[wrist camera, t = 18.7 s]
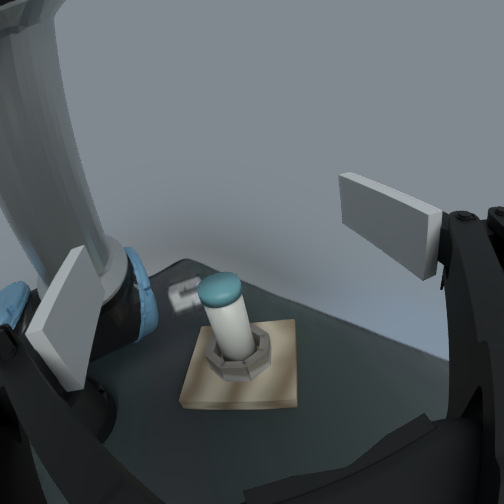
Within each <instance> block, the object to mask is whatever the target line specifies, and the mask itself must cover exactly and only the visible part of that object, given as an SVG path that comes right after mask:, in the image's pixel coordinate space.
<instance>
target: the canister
mask: <svg viewBox="0 0 504 504" xmlns="http://www.w3.org/2000/svg"><path fill="white" fill-rule="evenodd" d="M197 292H198V295H199V298H200V300H201V303H202V304H203V305H204V307H205V310H206V313H207V316H208V318H209V321H210V324H211V327H212V329H213V332H214V335H215V338H216V340H217V343H218V346H219V348H220V351H221V354H222V356H223V359H224V361H225V362H231V361H245V360H246V359H247V358H249V357H250V356H251V355H253V354H254V353H256V352H257V349H256V346H255V342H254V338H253V334H252V331H251V327H250V323H249V319H248V316H247V312H246V308H245V304H244V301H243V297H242V286H241V283H240V279H239V277H238V275H236V274H234V273H231V272H220V273H216V274H212V275H210V276H208V277H206V278H204V279H203V280H202V281H201V282H200V283H199V284H198V286H197Z"/></svg>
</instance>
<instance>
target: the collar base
mask: <svg viewBox="0 0 504 504" xmlns="http://www.w3.org/2000/svg"><path fill="white" fill-rule="evenodd" d="M250 327H251V331H252V334H253V338H254V342H255V346H256V349H257V352H256V353H254V354H253V355H251V356H250V357H249V358H247V359H246V360H245V361H231V362H225V361H224V359H223V356H222V354H221V351H220V348H219V346H218V343H217V340H216V338H215V335H214V332H213V329H212V327H211V326H202V327H201V330H200V333H199V337H198V340H197V343H196V346H195V349H194V352H193V356H192V359H191V362H190V365H189V369H188V372H187V375H186V378H185V382H184V385H183V388H182V392H181V395H180V398H179V402H180V404H181V405H182V407H183V408H184V409H209V410H251V409H277V408H293V407H297V346H296V324H295V319H290V320H280V321H269V322H258V323H250Z"/></svg>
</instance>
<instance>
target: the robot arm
mask: <svg viewBox="0 0 504 504" xmlns="http://www.w3.org/2000/svg"><path fill="white" fill-rule="evenodd" d="M64 2H65V0H0V207H1V209H2V211H3V213H4V215H5V217H6V219H7V221H8V223H9V225H10V227H11V228H12V230H13V232H14V234H15V236H16V237H17V239H18V241H19V243H20V244H21V246H22V248H23V249H24V251H25V253H26V254H27V256H28V258H29V259H30V261H31V263H32V264H33V266H34V268H35V269H36V271H37V272H38V274H39V275H38V280H37V289H34V290H32V291H30V288H29V286H28V285H26V283H25V282H22V281H18V282H17V283H16V282H15V283H12V284H10V285H8V286H7V287H5V288H4V289H2V290H1V291H0V504H47V502H46V499H45V496H44V493H43V490H42V487H41V484H40V481H39V478H38V474H37V471H36V468H35V464H34V460H33V456H32V453H31V448H30V444H29V440H30V442H31V444H32V446H33V448H34V449H35V451H36V453H37V455H38V456H39V458H40V460H41V461H42V463H43V465H44V466H45V468H46V470H47V471H48V473H49V475H50V476H51V478H52V479H53V481H54V482H55V484H56V485H57V487H58V488H59V490H60V491H61V493H62V494H63V495H64V497H65V498H66V500H67V501H68V502H69V504H165V503H164V502H163V501H162V500H161V499H159V498H158V497H157V496H156V495H155V494H153V493H152V492H151V491H150V490H149V489H148V488H146V487H145V486H144V485H143V484H142V483H141V482H140V481H139V480H137V479H136V478H135V477H134V476H133V475H132V474H131V473H130V472H129V471H128V470H127V469H126V468H125V467H124V466H123V465H122V464H121V463H120V462H119V461H118V460H117V459H116V458H115V457H114V456H113V455H112V454H111V453H110V452H109V451H108V450H107V449H106V448H105V447H104V446H103V445H102V443H103V442H104V441H105V439H106V438H107V437H108V435H109V434H110V432H111V430H112V428H113V425H114V422H115V417H116V408H115V403H114V401H113V399H112V397H111V396H110V394H109V393H108V392H107V390H106V389H105V388H104V387H103V386H102V385H101V384H100V383H99V382H97V381H96V380H94V379H93V378H91V377H90V376H88V375H87V374H86V373H87V368H88V363H90V362H93V361H95V360H97V359H99V358H101V357H103V356H105V355H108V354H110V353H112V352H114V351H116V350H118V349H121V348H123V347H125V346H127V345H129V344H132V343H136V342H138V341H140V339H141V338H143V337H144V336H146V335H148V334H150V333H152V332H153V331H154V330H155V329H156V327H157V325H158V320H159V316H158V309H157V304H156V300H155V297H154V294H153V292H152V290H151V286H150V282H149V279H148V276H147V273H146V271H145V268H144V266H143V264H142V262H141V260H140V258H139V256H138V254H137V253H136V251H135V250H134V249H133V248H131V247H123V246H122V245H121V244H120V243H119V242H118V241H117V240H116V239H114V238H112V237H110V236H108V235H105V234H104V231H103V228H102V226H101V223H100V220H99V217H98V215H97V212H96V209H95V206H94V203H93V200H92V196H91V193H90V190H89V187H88V184H87V181H86V177H85V174H84V171H83V167H82V164H81V160H80V157H79V153H78V149H77V145H76V142H75V138H74V134H73V130H72V125H71V121H70V117H69V113H68V108H67V103H66V99H65V93H64V88H63V83H62V78H61V71H60V65H59V59H58V52H57V45H56V36H55V27H54V17H55V14H56V12H57V11H58V10H59V8H60V7H61V6H62V4H63V3H64ZM338 176H339V186H340V197H341V209H342V223H343V224H345V225H346V226H347V227H349V228H350V229H352V230H353V231H355V232H356V233H358V234H359V235H361V236H362V237H363V238H365V239H366V240H368V241H369V242H371V243H372V244H374V245H375V246H376V247H378V248H379V249H381V250H382V251H383V252H385V253H386V254H387V255H389V256H390V257H391V258H393V259H394V260H396V261H397V262H399V263H400V264H401V265H402V266H404V267H405V268H407V269H408V270H409V271H410V272H412V273H413V274H414V275H416V276H417V277H419V278H420V279H421V280H422V281H424V280H426V279H428V278H430V277H432V276H434V275H436V270H437V263H438V261H439V262H440V263H442V264H443V265H444V269H443V275H442V281H441V287H440V290H442V289H443V287H444V288H445V297H446V308H447V320H448V335H449V404H448V412H447V416H446V419H441V420H436V421H432V422H431V421H430V420H429V418H428V417H427V416H426V414H425V413H423V414H422V415H420V416H419V417H417V418H415V419H414V420H412V421H410V422H409V423H407V424H405V425H403V426H402V427H400V428H398V429H396V430H395V431H393V432H391V433H389V434H387V435H386V436H385V437H384V438H382V439H381V440H380V441H379V442H378V443H377V444H376V445H374V446H373V447H372V448H371V449H370V450H368V451H367V452H366V453H365V454H363V455H362V456H361V457H360V458H358V459H357V460H356V461H355V462H353V463H352V464H351V465H349V466H347V467H344V468H340V469H335V470H330V471H324V472H318V473H311V474H304V475H297V476H291V477H288V478H285V479H282V480H279V481H276V482H272V483H269V484H266V485H262V486H259V487H255V488H252V489H248V490H244V491H243V493H244V496H245V499H246V501H245V502H243V503H241V504H504V207H500V206H498V207H491V208H489V209H488V217H487V219H486V220H480V219H479V218H478V217H477V216H476V215H475V214H473V213H470V212H467V211H455V212H452V213H450V215H449V214H447V213H445V212H443V211H442V210H440V209H438V208H436V207H433V206H431V205H429V204H427V203H425V202H423V201H420V200H418V199H416V198H414V197H411V196H409V195H407V194H404V193H402V192H400V191H397V190H395V189H393V188H390V187H387V186H385V185H383V184H380V183H378V182H375V181H373V180H370V179H368V178H365V177H363V176H360V175H357V174H355V173H352V172H348V173H344V174H339V175H338ZM28 438H29V440H28Z"/></svg>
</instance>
